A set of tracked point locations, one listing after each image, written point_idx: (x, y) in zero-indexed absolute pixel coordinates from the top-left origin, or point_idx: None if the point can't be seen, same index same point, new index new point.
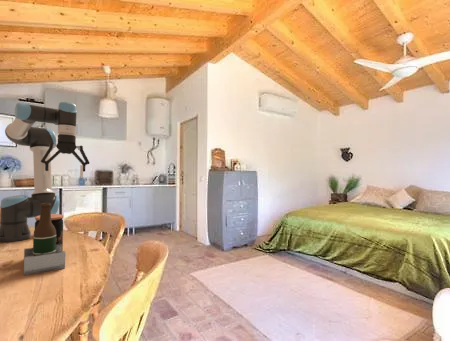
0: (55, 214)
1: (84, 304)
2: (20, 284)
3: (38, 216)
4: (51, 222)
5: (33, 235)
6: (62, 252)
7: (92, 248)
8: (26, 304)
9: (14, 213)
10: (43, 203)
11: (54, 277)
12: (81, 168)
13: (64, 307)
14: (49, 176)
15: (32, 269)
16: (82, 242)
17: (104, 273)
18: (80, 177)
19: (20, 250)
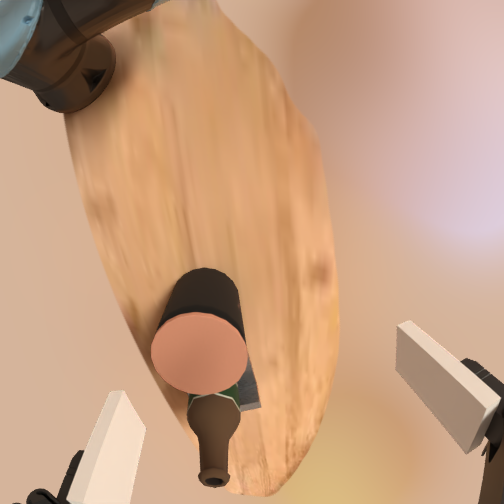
0: (212, 326)
1: (289, 472)
2: None
3: (160, 355)
4: (229, 437)
5: (187, 413)
6: (255, 408)
7: (313, 258)
8: (229, 465)
9: (34, 76)
10: (205, 479)
11: (245, 416)
12: (448, 428)
13: (269, 474)
14: (138, 439)
15: None
16: (283, 176)
17: (321, 415)
18: (400, 347)
19: (119, 216)
